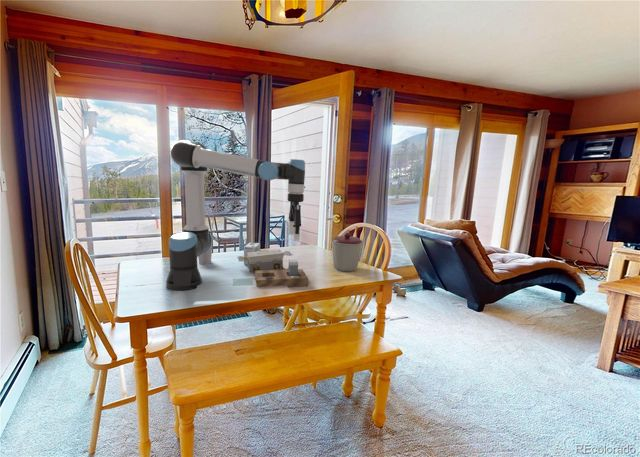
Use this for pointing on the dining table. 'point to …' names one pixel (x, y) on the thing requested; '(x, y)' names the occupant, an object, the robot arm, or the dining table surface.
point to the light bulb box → (251, 249)
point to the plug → (293, 268)
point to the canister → (346, 252)
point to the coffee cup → (206, 256)
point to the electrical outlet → (265, 260)
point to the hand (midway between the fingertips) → (293, 237)
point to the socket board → (280, 278)
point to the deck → (242, 281)
